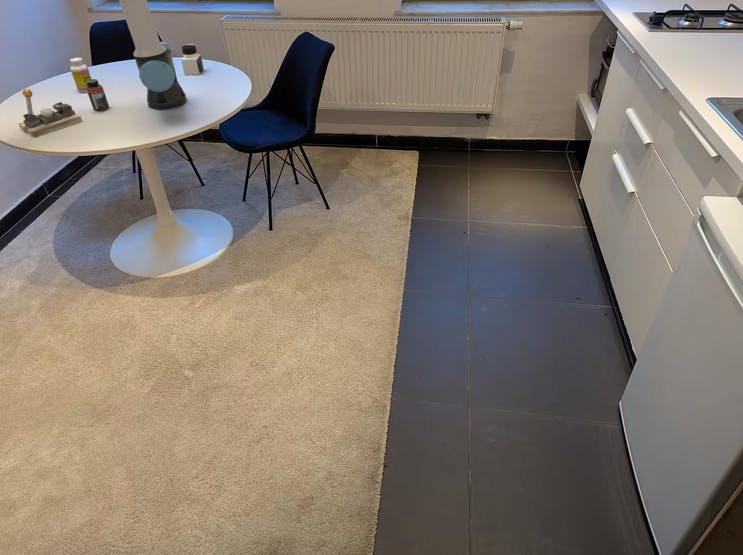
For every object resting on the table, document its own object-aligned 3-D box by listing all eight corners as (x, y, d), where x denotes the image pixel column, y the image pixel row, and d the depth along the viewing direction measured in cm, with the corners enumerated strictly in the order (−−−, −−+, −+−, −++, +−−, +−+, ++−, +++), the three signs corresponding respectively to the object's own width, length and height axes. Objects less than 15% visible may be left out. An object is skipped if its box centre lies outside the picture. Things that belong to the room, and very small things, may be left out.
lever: (37, 119, 198) (33, 89, 194) (28, 120, 196) (24, 90, 191) (33, 117, 200) (29, 88, 195) (24, 118, 198) (20, 88, 193)
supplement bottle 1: (88, 93, 230) (77, 62, 222) (75, 92, 232) (63, 61, 224) (98, 87, 236) (87, 57, 227) (84, 86, 237) (73, 56, 229)
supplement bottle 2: (93, 107, 217) (83, 79, 210) (109, 105, 219) (100, 76, 212) (93, 112, 213) (83, 84, 206) (109, 110, 215) (100, 81, 208)
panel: (82, 121, 207) (76, 106, 203) (34, 137, 196) (27, 121, 192) (67, 113, 213) (61, 98, 209) (20, 129, 202) (13, 113, 198)
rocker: (72, 109, 206) (71, 105, 205) (58, 111, 202) (57, 107, 202) (67, 107, 208) (66, 103, 207) (53, 108, 204) (52, 104, 204)
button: (56, 116, 202) (53, 110, 201) (45, 119, 200) (42, 113, 199) (51, 113, 205) (48, 107, 203) (40, 117, 202) (38, 110, 201)
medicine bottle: (200, 75, 245) (194, 47, 238) (184, 75, 246) (177, 47, 238) (204, 69, 251) (198, 42, 243) (188, 70, 251) (182, 43, 244)
